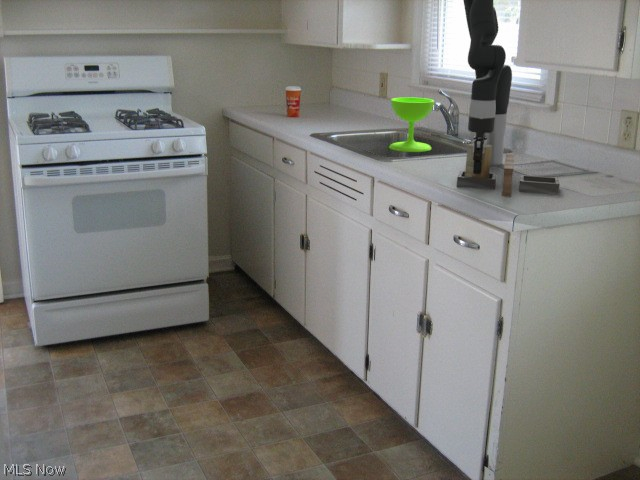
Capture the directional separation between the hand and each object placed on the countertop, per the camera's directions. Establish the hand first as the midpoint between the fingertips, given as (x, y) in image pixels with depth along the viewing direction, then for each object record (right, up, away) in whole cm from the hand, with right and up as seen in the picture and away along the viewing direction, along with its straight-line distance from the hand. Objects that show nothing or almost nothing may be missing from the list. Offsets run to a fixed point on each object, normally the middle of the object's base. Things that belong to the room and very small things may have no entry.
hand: (477, 171), depth 221 cm
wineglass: (-13, +14, +59) cm, 62 cm away
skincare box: (0, -4, +1) cm, 4 cm away
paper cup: (-60, +39, +135) cm, 152 cm away
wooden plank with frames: (+9, -5, -1) cm, 10 cm away
